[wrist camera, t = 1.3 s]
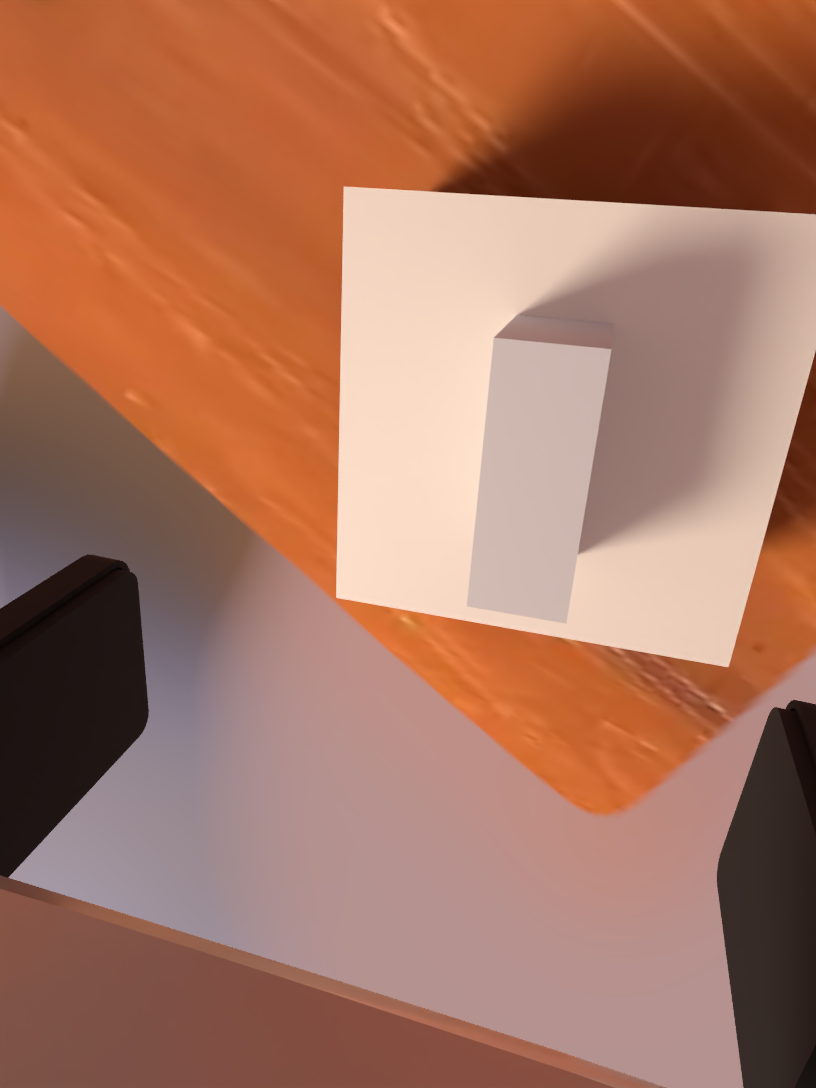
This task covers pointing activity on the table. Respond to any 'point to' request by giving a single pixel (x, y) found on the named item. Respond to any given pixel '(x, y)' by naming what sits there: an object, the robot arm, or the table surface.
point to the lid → (567, 410)
